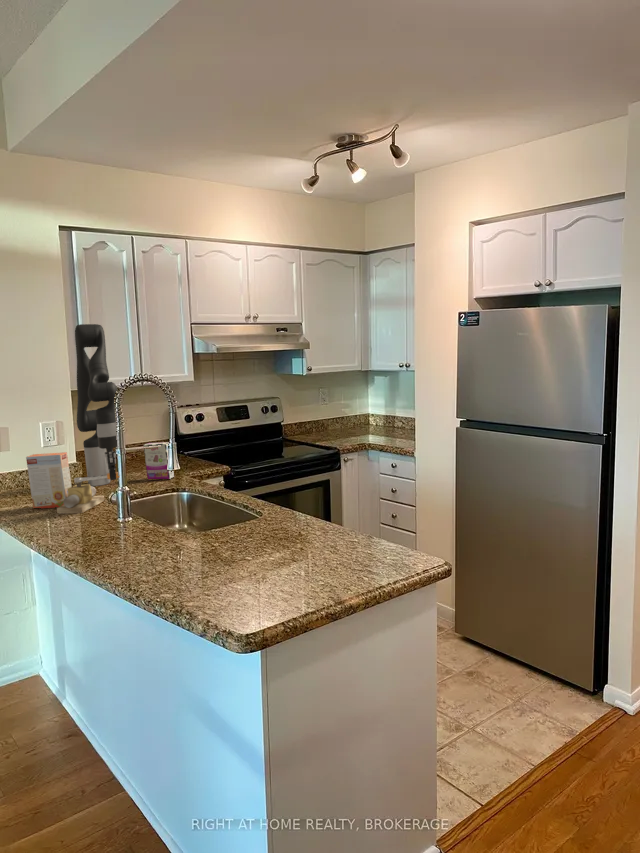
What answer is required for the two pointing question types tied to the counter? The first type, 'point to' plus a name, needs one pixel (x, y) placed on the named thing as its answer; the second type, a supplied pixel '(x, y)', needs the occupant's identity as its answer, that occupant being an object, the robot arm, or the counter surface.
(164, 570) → the counter surface
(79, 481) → the valve lever
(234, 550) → the counter surface
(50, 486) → the cracker box
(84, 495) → the valve on pipe
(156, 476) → the candy bar box
